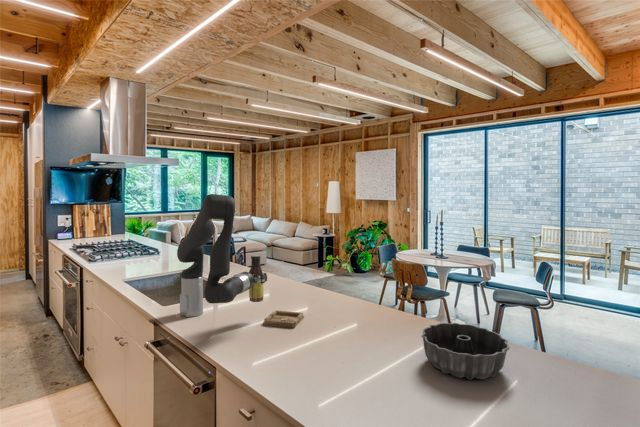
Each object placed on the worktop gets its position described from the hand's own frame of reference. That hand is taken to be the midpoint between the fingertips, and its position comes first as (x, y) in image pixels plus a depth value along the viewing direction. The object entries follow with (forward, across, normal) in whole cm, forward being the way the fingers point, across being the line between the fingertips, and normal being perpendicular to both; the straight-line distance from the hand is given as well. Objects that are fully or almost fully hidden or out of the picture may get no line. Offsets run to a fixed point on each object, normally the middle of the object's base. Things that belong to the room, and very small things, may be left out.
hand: (258, 274), depth 164 cm
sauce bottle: (-2, 0, +11) cm, 11 cm away
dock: (0, -12, +20) cm, 23 cm away
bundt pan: (-24, -83, +20) cm, 89 cm away
